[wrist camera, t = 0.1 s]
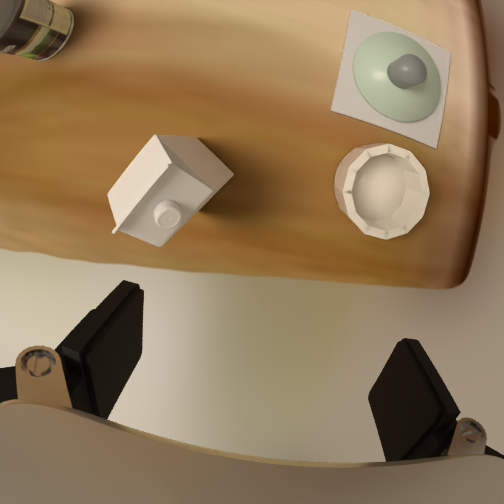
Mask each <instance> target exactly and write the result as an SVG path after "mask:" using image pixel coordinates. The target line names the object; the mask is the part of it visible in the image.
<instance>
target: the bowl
mask: <svg viewBox="0 0 504 504" xmlns="http://www.w3.org/2000/svg"><path fill="white" fill-rule="evenodd" d="M334 193H335V197H336V200H337V203H338V205H339V208H340V209H341V210H342V211H343V212H344V213H345V214H346V215H347V216H348V217H349V218H350V219H351V220H352V222H353V223H354V224H355V225H356V226H357V227H358V228H359V229H360V230H361V231H362V232H363V233H364V234H367V235H371V236H374V237H378V238H382V239H386V240H387V239H390V238H393V237H397V236H400V235H403V234H406V233H408V232H409V231H410V230H411V229H412V228H413V227H414V226H415V225H416V224H417V222H418V221H419V220H420V219H421V218H422V217H423V215H424V212H425V208H426V205H427V201H428V198H429V194H430V193H429V187H428V181H427V176H426V171H425V169H424V168H423V166H422V165H421V164H420V163H419V161H418V160H417V159H416V158H415V156H414V155H413V154H412V153H411V152H410V151H408V150H405V149H402V148H400V147H397V146H394V145H392V144H384V143H374V144H370V145H364V146H360V147H357V148H354V149H353V150H352V151H350V152H349V153H348V154H347V155H345V157H344V158H343V159H342V160H341V162H340V163H339V165H338V167H337V169H336V172H335V177H334Z"/></svg>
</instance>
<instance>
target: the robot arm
mask: <svg viewBox="0 0 504 504" xmlns="http://www.w3.org/2000/svg"><path fill="white" fill-rule="evenodd" d="M143 303H144V291H143V290H142V289H140V286H139V284H136V283H132V282H128V281H125V280H123V281H122V282H121V283H120V284H119V285H118V286H117V287H116V288H115V289H114V290H113V291H112V292H111V293H110V294H109V295H108V296H107V297H106V298H105V299H104V300H103V302H102V303H100V305H99V306H98V307H97V308H96V309H93V310H91V311H90V312H89V313H88V314H87V315H86V316H85V317H84V318H83V319H82V320H81V321H80V323H79V324H78V325H77V326H76V327H75V328H74V329H73V330H72V331H71V332H70V333H69V335H68V336H67V337H66V338H65V339H64V340H63V341H62V342H61V343H60V344H59V346H58V347H57V348H56V349H55V350H53V349H51V348H49V347H45V346H33V347H29V348H27V349H25V350H23V351H22V352H21V353H20V354H19V355H18V357H17V359H16V364H15V365H16V366H12V367H6V368H0V504H504V455H502V454H500V453H499V452H497V451H495V450H493V449H492V448H490V447H488V446H487V445H486V440H487V438H486V437H487V435H486V432H485V430H484V428H483V427H482V425H481V424H479V423H478V422H477V421H475V420H473V419H471V418H462V419H460V420H459V421H458V422H457V420H456V418H457V416H458V415H459V414H460V413H461V412H460V410H459V409H458V407H457V405H456V403H455V401H454V400H453V398H452V396H451V394H450V392H449V391H448V389H447V387H446V385H445V384H444V382H443V380H442V379H441V377H440V375H439V373H438V372H437V370H436V368H435V367H434V365H433V363H432V362H431V360H430V358H429V357H428V355H427V354H426V352H425V350H424V349H423V347H422V346H421V344H420V342H419V341H418V340H415V339H408V338H404V339H402V340H401V341H399V342H398V343H397V344H396V346H395V348H394V350H393V352H392V354H391V355H390V357H389V359H388V361H387V363H386V365H385V367H384V368H383V370H382V372H381V373H380V375H379V377H378V379H377V381H376V382H375V384H374V385H373V387H372V389H371V390H370V392H369V396H368V400H369V403H370V407H371V410H372V413H373V417H374V420H375V423H376V426H377V430H378V434H379V437H380V441H381V445H382V448H383V452H384V455H385V459H386V462H370V463H328V462H306V461H292V460H281V459H272V458H264V457H256V456H249V455H242V454H236V453H231V452H225V451H220V450H214V449H210V448H205V447H200V446H196V445H191V444H187V443H183V442H179V441H175V440H171V439H168V438H164V437H161V436H157V435H153V434H150V433H146V432H143V431H139V430H137V429H133V428H130V427H127V426H124V425H121V424H118V423H115V422H113V421H110V420H107V419H108V417H109V415H110V413H111V410H112V409H113V407H114V405H115V403H116V401H117V399H118V398H119V396H120V394H121V392H122V390H123V388H124V386H125V384H126V383H127V381H128V379H129V377H130V376H131V374H132V372H133V370H134V368H135V366H136V365H137V363H138V361H139V359H140V357H141V354H142V335H143V334H142V332H143Z"/></svg>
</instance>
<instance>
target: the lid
mask: <svg viewBox="0 0 504 504" xmlns="http://www.w3.org/2000/svg"><path fill="white" fill-rule="evenodd" d="M353 75H354V80H355V83H356V85H357V88H358V90H359V92H360V93H361V95H362V96H363V98H364V99H365V101H366V102H367V103H368V104H369V105H370V106H371V107H372V108H373V109H374V110H376V111H377V112H378V113H380V114H381V115H383V116H385V117H387V118H389V119H392V120H396V121H402V122H408V121H416V120H420V119H422V118H424V117H426V116H427V115H429V114H430V113H431V112H432V111H433V110H434V109H435V107H436V105H437V103H438V101H439V98H440V94H441V80H440V75H439V71H438V69H437V66H436V64H435V62H434V60H433V59H432V57H431V56H430V54H429V53H428V52H427V51H426V50H425V49H424V48H423V47H422V46H421V45H420V44H419V43H418V42H416V41H415V40H413V39H412V38H410V37H408V36H406V35H403V34H400V33H396V32H379V33H376V34H373V35H371V36H369V37H368V38H367V39H365V40H364V41H363V42H362V43H361V44H360V46H359V47H358V49H357V50H356V53H355V55H354V59H353Z"/></svg>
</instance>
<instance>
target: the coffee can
mask: <svg viewBox="0 0 504 504" xmlns="http://www.w3.org/2000/svg"><path fill="white" fill-rule="evenodd" d="M73 27H74V15H73V13H72V12H71V11H70V10H69V9H66V8H64V7H62V6H60V5H58V4H56V3H54V2H52V1H50V0H0V52H2V53H7V54H12V55H17V56H22V57H27V58H31V59H35V60H37V61H45V60H48V59H50V58H52V57H53V56H55V55H56V54H57V53H58V52H59V51H60V50H61V49H62V48H63V47H64V45H65V44H66V43H67V41H68V39H69V38H70V36H71V33H72V30H73Z"/></svg>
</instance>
